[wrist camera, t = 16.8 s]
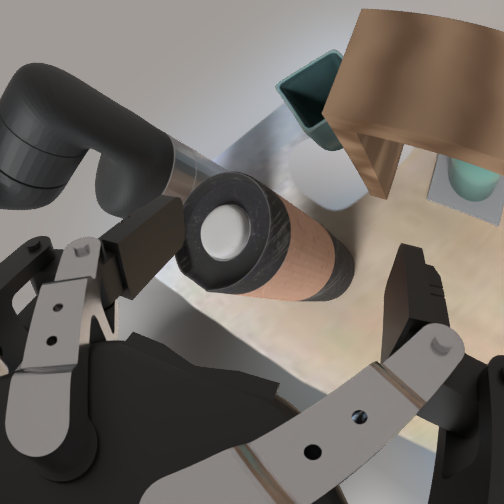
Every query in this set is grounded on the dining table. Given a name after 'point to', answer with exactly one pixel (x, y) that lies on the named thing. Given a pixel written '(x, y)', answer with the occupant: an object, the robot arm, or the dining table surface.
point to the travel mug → (258, 244)
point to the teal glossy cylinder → (471, 180)
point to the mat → (448, 197)
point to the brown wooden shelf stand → (418, 93)
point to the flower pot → (313, 97)
